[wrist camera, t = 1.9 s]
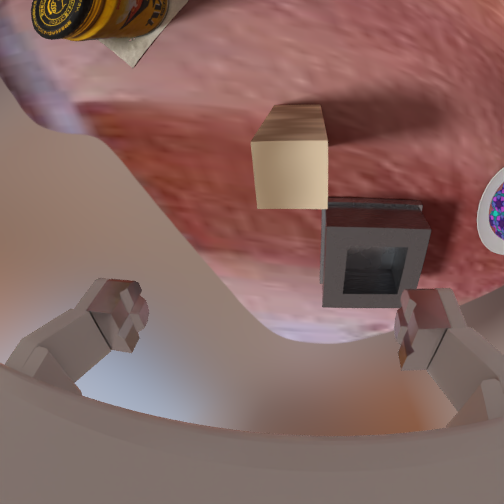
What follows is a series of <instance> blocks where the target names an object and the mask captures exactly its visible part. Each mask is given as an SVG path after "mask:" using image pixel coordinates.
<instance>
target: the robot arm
mask: <svg viewBox="0 0 504 504" xmlns="http://www.w3.org/2000/svg"><path fill="white" fill-rule="evenodd" d="M141 291H142V290H141V287H140V285H139V283H138V282H136V281H129V280H119V279H106V278H98V279H96V280H95V281H94V283H93V284H92V285H91V287H90V288H89V289H88V291H87V292H86V293H85V295H84V296H83V297H82V299H81V300H80V302H79V303H78V304H77V306H76V307H75V309H70V310H68V311H66V312H65V313H63V314H61V315H60V316H58V317H57V318H55V319H53V320H52V321H50V322H48V323H47V324H45V325H44V326H42V327H41V328H39V329H37V330H36V331H34V332H32V333H31V334H29V335H28V336H26V337H24V338H23V339H22V340H21V341H20V343H19V344H18V345H17V347H16V348H15V350H14V351H13V353H12V354H11V356H10V357H9V359H8V360H7V362H6V363H5V365H4V364H2V363H0V504H504V355H503V354H502V353H501V352H500V351H499V350H498V349H496V348H495V347H494V346H493V345H492V344H491V343H489V342H488V341H487V340H486V339H485V338H484V337H483V336H481V335H480V334H479V333H478V332H477V331H475V330H474V329H473V328H472V327H467V325H466V322H465V319H464V317H463V314H462V312H461V310H460V307H459V305H458V302H457V300H456V298H455V295H454V293H453V291H452V289H450V288H435V289H404V291H403V292H402V295H401V299H400V300H401V304H402V307H401V308H399V309H398V310H397V313H396V317H395V326H394V330H395V338H396V341H397V342H398V343H399V344H400V345H401V346H400V349H399V351H398V356H399V361H400V367H401V371H402V370H427V372H428V373H429V375H430V376H431V377H432V378H433V380H434V381H435V382H436V383H437V385H438V386H439V387H440V389H441V390H442V391H443V392H444V394H445V395H446V396H447V398H448V399H449V400H450V402H451V403H452V404H453V406H454V407H455V408H456V409H457V411H458V413H457V414H456V415H455V416H454V418H453V419H452V420H451V421H450V422H449V423H448V424H447V426H446V428H442V429H435V430H427V431H419V432H409V433H399V434H386V435H367V436H303V435H302V436H301V435H284V434H270V433H259V432H249V431H240V430H232V429H224V428H217V427H210V426H204V425H198V424H192V423H187V422H182V421H177V420H171V419H167V418H162V417H157V416H153V415H149V414H145V413H140V412H136V411H132V410H129V409H125V408H121V407H118V406H114V405H111V404H107V403H104V402H100V401H97V400H94V399H91V398H88V397H85V396H82V393H81V391H80V389H79V388H78V387H77V386H76V385H75V384H74V383H75V382H76V381H77V380H78V379H79V378H80V377H82V376H83V375H84V374H85V373H86V372H87V371H88V370H90V369H91V368H92V367H93V366H94V365H95V364H97V363H98V362H99V361H100V360H101V359H103V358H104V357H105V356H106V355H107V354H108V353H109V352H111V350H116V351H122V352H129V353H132V352H133V350H134V348H135V346H136V344H137V342H138V340H139V334H138V332H139V331H141V330H142V329H144V328H145V326H146V324H147V321H148V316H149V309H148V305H147V302H146V300H145V299H144V298H142V297H141V296H140V294H141Z"/></svg>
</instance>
